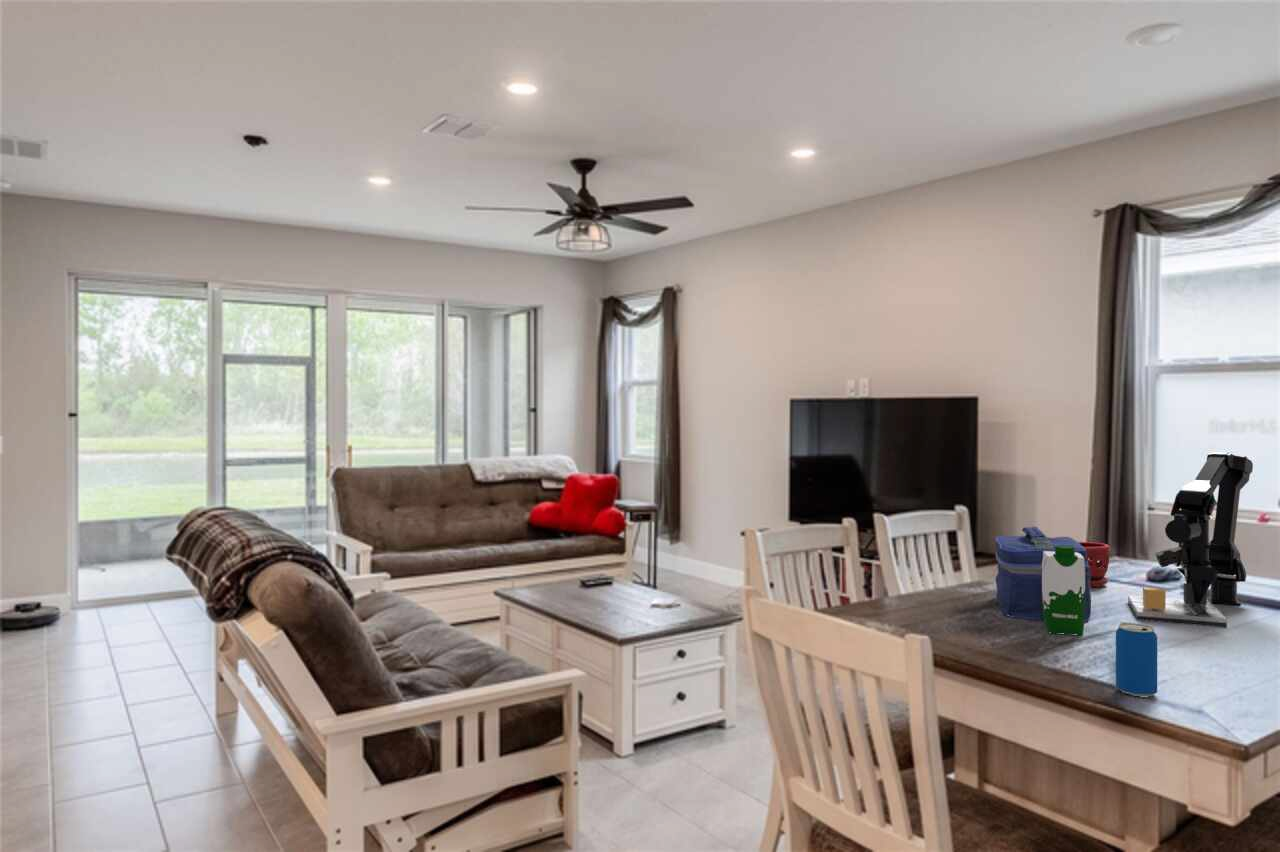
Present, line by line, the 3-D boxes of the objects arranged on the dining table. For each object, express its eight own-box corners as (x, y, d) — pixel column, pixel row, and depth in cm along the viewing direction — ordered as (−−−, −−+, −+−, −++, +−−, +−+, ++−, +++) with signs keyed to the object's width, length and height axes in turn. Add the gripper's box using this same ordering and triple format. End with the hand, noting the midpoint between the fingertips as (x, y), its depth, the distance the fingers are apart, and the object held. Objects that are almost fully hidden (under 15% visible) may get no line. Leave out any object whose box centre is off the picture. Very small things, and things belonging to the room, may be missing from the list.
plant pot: (1110, 582, 245) (1110, 542, 245) (1108, 590, 234) (1108, 548, 234) (1061, 578, 252) (1061, 539, 252) (1056, 585, 241) (1056, 545, 241)
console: (1128, 602, 220) (1128, 594, 220) (1209, 608, 212) (1209, 600, 212) (1137, 619, 201) (1137, 611, 201) (1226, 627, 194) (1226, 618, 194)
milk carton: (1045, 634, 189) (1045, 547, 189) (1040, 624, 198) (1039, 541, 198) (1088, 637, 187) (1088, 549, 186) (1080, 627, 195) (1080, 543, 195)
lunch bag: (990, 593, 233) (990, 520, 233) (1073, 597, 227) (1073, 523, 226) (1003, 619, 204) (1002, 536, 203) (1098, 625, 197) (1098, 540, 197)
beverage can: (1163, 700, 146) (1163, 632, 146) (1123, 697, 147) (1123, 631, 147) (1148, 688, 152) (1148, 623, 152) (1110, 686, 154) (1110, 621, 154)
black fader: (1183, 606, 211) (1183, 583, 210) (1204, 607, 209) (1204, 584, 209) (1185, 608, 208) (1185, 585, 208) (1206, 610, 206) (1206, 586, 206)
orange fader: (1142, 610, 206) (1142, 587, 206) (1163, 611, 205) (1163, 588, 205) (1144, 613, 204) (1144, 589, 204) (1165, 614, 202) (1165, 590, 202)
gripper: (1152, 532, 220) (1152, 590, 220) (1163, 542, 203) (1163, 605, 203) (1202, 534, 215) (1202, 594, 215) (1217, 545, 198) (1217, 609, 199)
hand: (1195, 600), depth 208 cm, fingers open, 6 cm apart
